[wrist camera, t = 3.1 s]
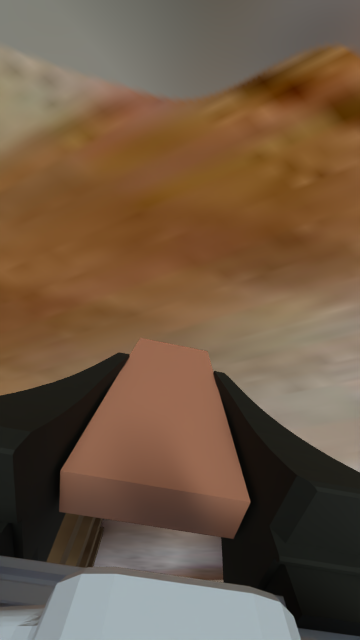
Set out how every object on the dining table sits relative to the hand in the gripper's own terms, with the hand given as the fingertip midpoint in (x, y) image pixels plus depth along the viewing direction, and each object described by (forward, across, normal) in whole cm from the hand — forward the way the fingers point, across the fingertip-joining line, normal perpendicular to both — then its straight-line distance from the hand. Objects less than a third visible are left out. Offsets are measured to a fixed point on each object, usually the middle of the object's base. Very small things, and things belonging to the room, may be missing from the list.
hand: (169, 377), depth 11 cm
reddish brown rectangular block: (+3, 0, 0) cm, 3 cm away
